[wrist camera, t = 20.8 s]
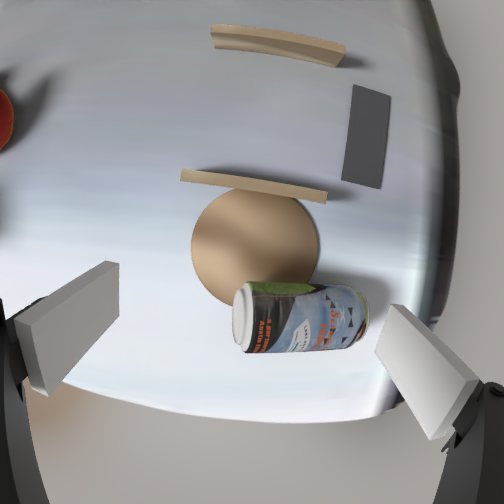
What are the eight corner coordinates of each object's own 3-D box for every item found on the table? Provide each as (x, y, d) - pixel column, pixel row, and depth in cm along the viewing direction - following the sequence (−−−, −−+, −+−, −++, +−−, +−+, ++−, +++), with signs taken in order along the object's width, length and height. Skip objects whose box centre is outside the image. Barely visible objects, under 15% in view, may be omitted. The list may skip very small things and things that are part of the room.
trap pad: (353, 85, 24) (354, 84, 24) (388, 96, 24) (389, 95, 24) (341, 180, 26) (341, 180, 26) (378, 189, 26) (379, 189, 26)
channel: (217, 40, 23) (212, 23, 20) (336, 59, 23) (345, 45, 20) (189, 181, 26) (180, 180, 23) (316, 201, 27) (325, 203, 23)
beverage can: (236, 315, 20) (388, 326, 21) (239, 256, 26) (362, 272, 27) (226, 367, 23) (357, 373, 24) (230, 308, 29) (341, 318, 30)
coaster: (200, 177, 26) (199, 177, 26) (327, 198, 27) (328, 198, 26) (185, 298, 29) (185, 299, 28) (303, 316, 29) (303, 317, 29)
